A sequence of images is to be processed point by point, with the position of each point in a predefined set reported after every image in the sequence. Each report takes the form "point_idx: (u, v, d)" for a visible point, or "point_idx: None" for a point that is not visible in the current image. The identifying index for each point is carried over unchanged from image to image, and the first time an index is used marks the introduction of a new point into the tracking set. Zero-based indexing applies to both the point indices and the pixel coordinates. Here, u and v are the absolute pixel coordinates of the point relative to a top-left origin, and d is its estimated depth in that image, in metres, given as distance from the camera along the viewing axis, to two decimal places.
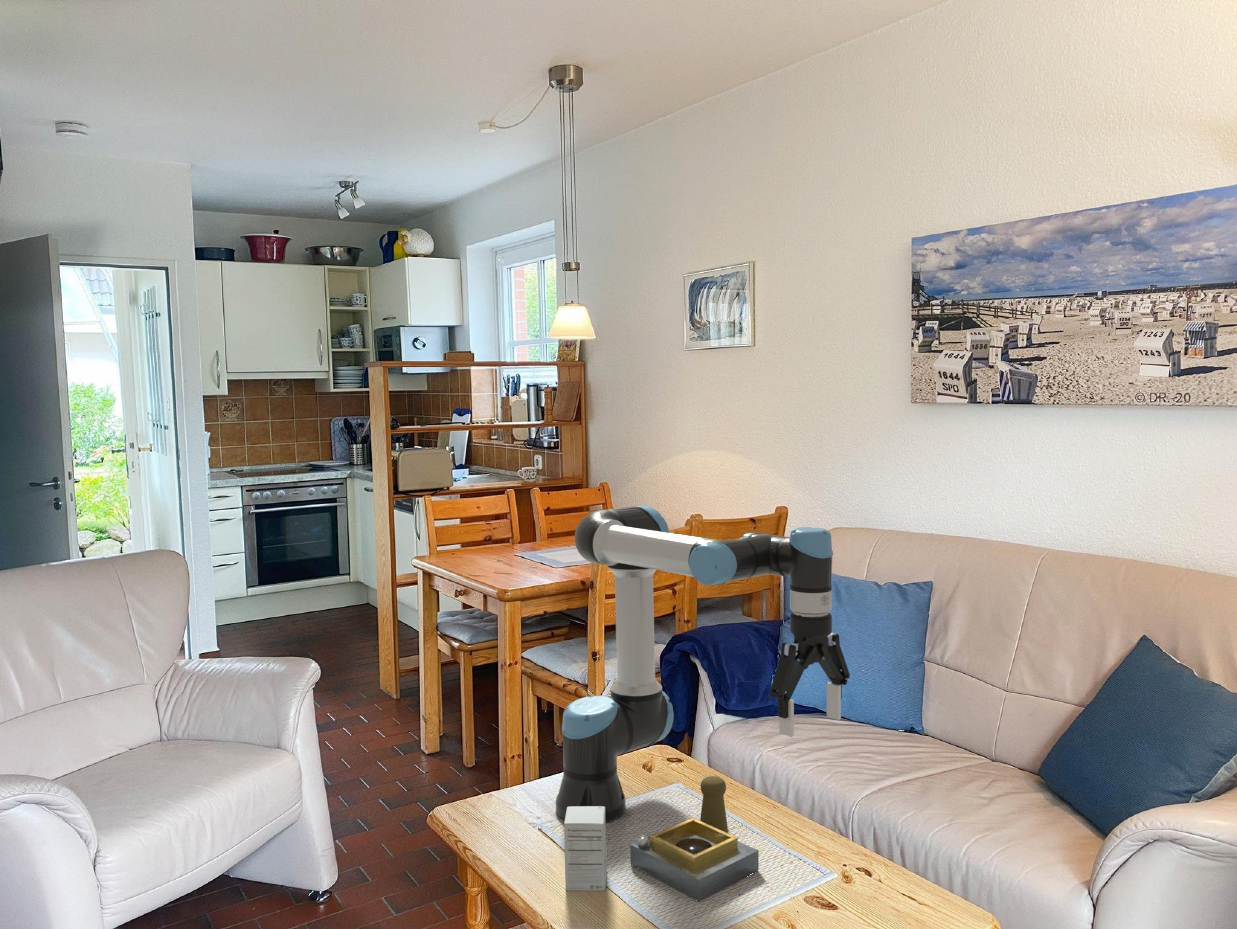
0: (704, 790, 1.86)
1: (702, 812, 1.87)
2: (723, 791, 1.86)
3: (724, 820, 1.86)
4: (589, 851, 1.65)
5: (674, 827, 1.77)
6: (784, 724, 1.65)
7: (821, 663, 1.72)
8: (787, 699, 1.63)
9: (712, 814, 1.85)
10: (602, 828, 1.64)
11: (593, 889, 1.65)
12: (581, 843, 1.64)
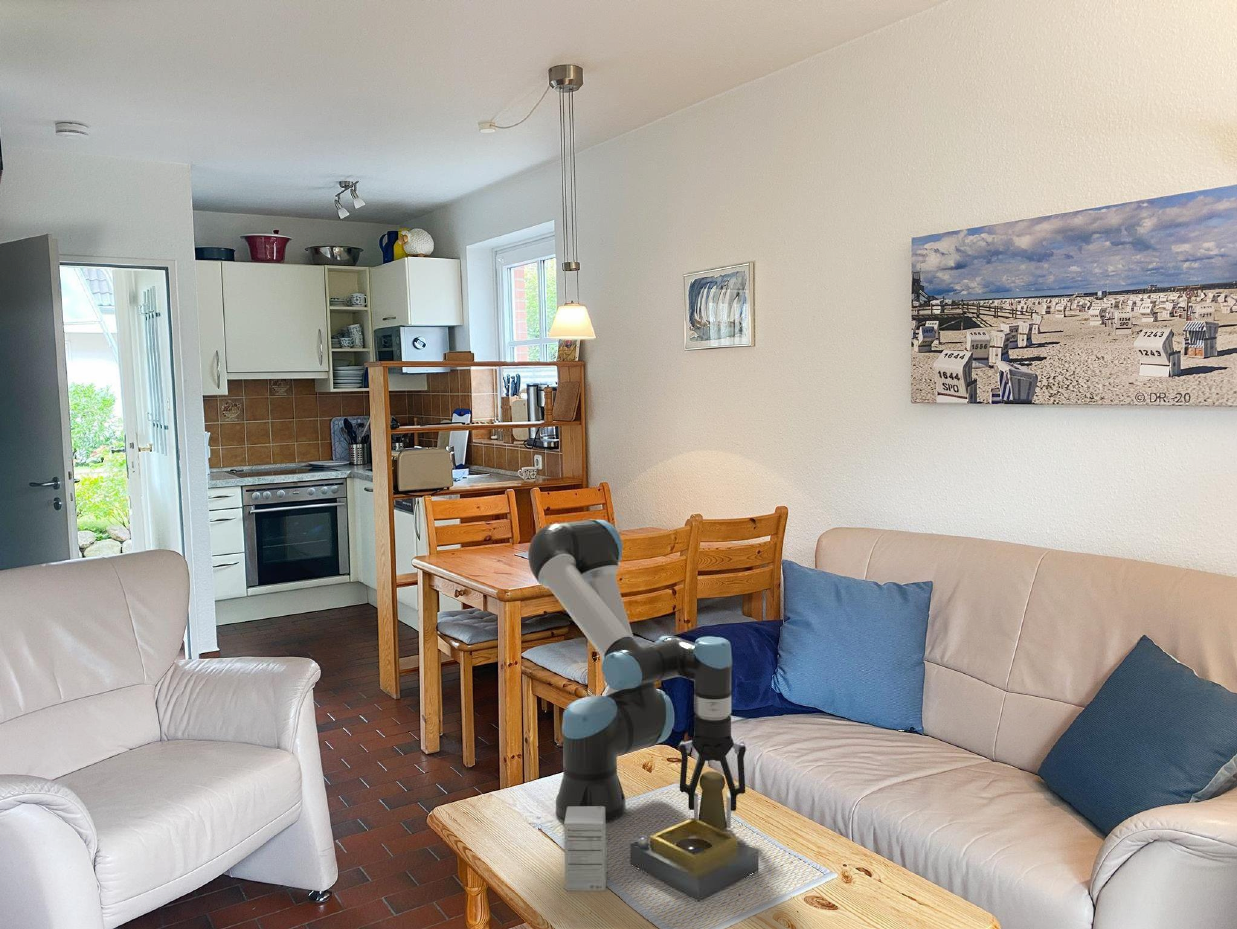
0: (702, 785, 1.86)
1: (701, 807, 1.87)
2: (722, 786, 1.86)
3: (723, 815, 1.87)
4: (589, 851, 1.65)
5: (674, 827, 1.77)
6: None
7: None
8: (690, 794, 1.87)
9: (711, 809, 1.86)
10: (602, 828, 1.64)
11: (593, 889, 1.65)
12: (581, 843, 1.64)
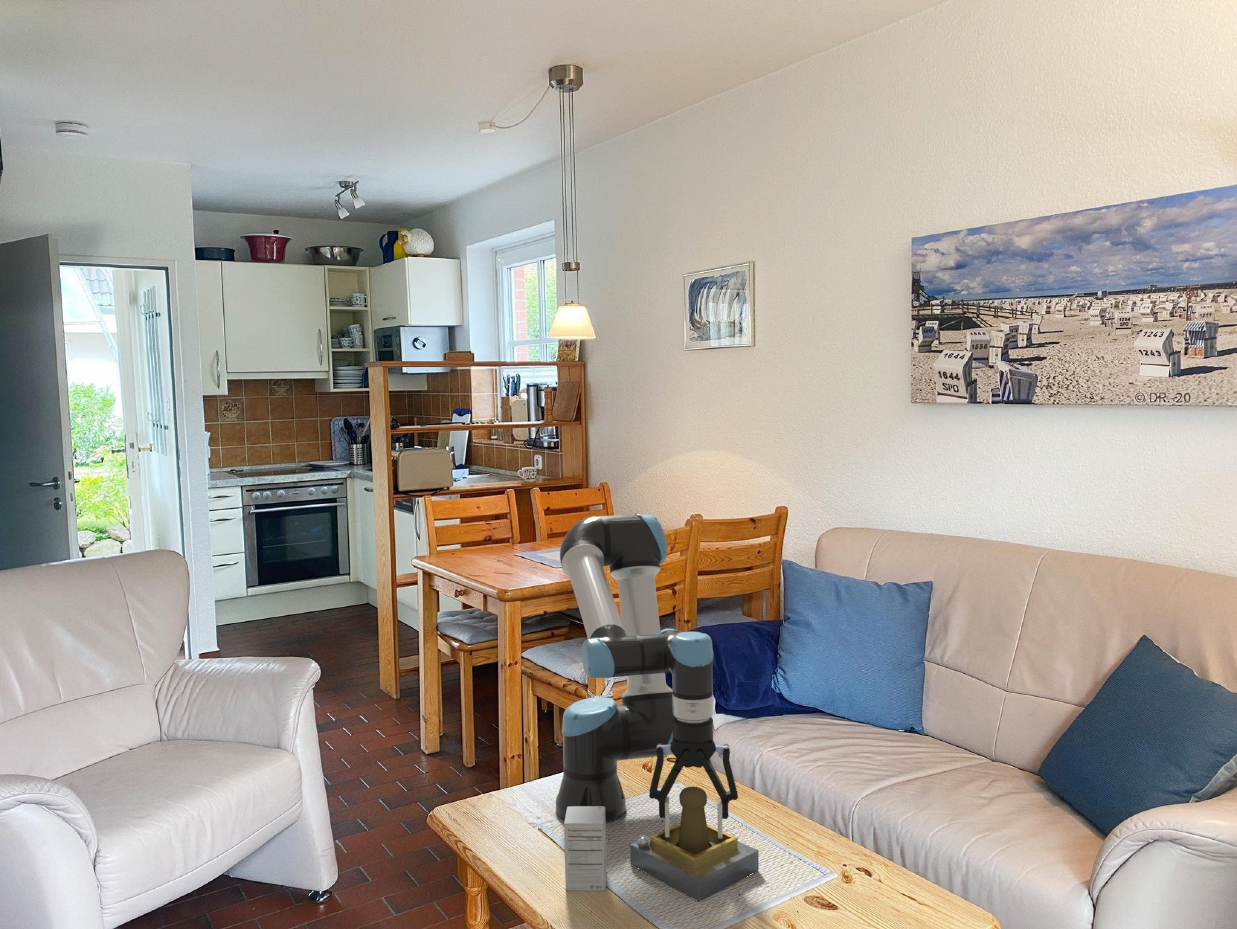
0: (682, 802, 1.71)
1: (681, 826, 1.72)
2: (704, 803, 1.70)
3: (705, 834, 1.71)
4: (589, 851, 1.65)
5: (674, 827, 1.77)
6: None
7: None
8: (660, 800, 1.71)
9: (692, 829, 1.70)
10: (602, 828, 1.64)
11: (593, 889, 1.65)
12: (581, 843, 1.65)
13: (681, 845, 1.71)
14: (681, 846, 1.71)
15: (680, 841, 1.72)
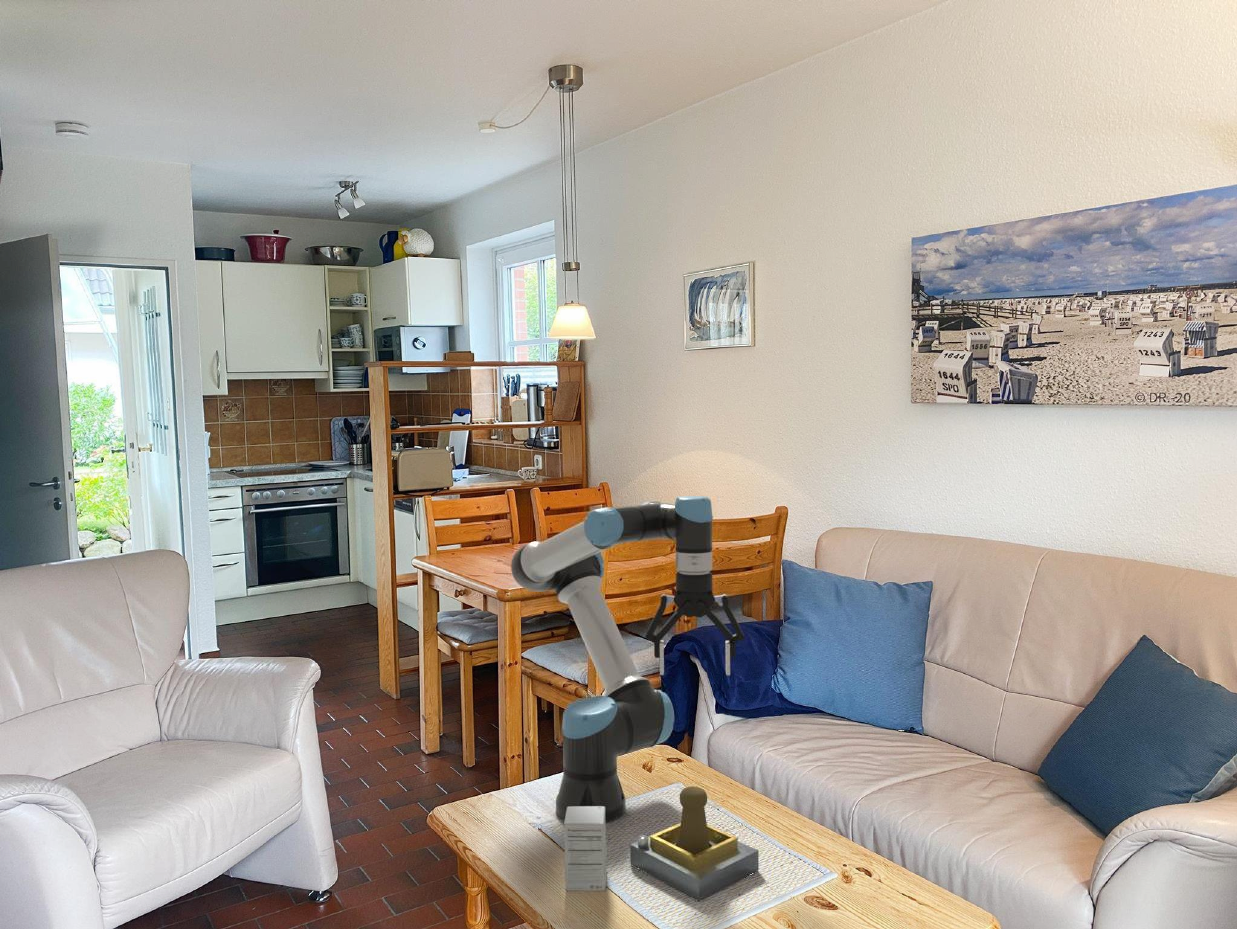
0: (683, 802, 1.71)
1: (681, 826, 1.72)
2: (704, 803, 1.71)
3: (705, 834, 1.71)
4: (589, 851, 1.65)
5: (674, 827, 1.77)
6: None
7: None
8: (655, 641, 1.89)
9: (692, 828, 1.70)
10: (602, 828, 1.64)
11: (593, 889, 1.65)
12: (581, 843, 1.65)
13: (681, 845, 1.71)
14: (681, 846, 1.71)
15: (680, 841, 1.72)
